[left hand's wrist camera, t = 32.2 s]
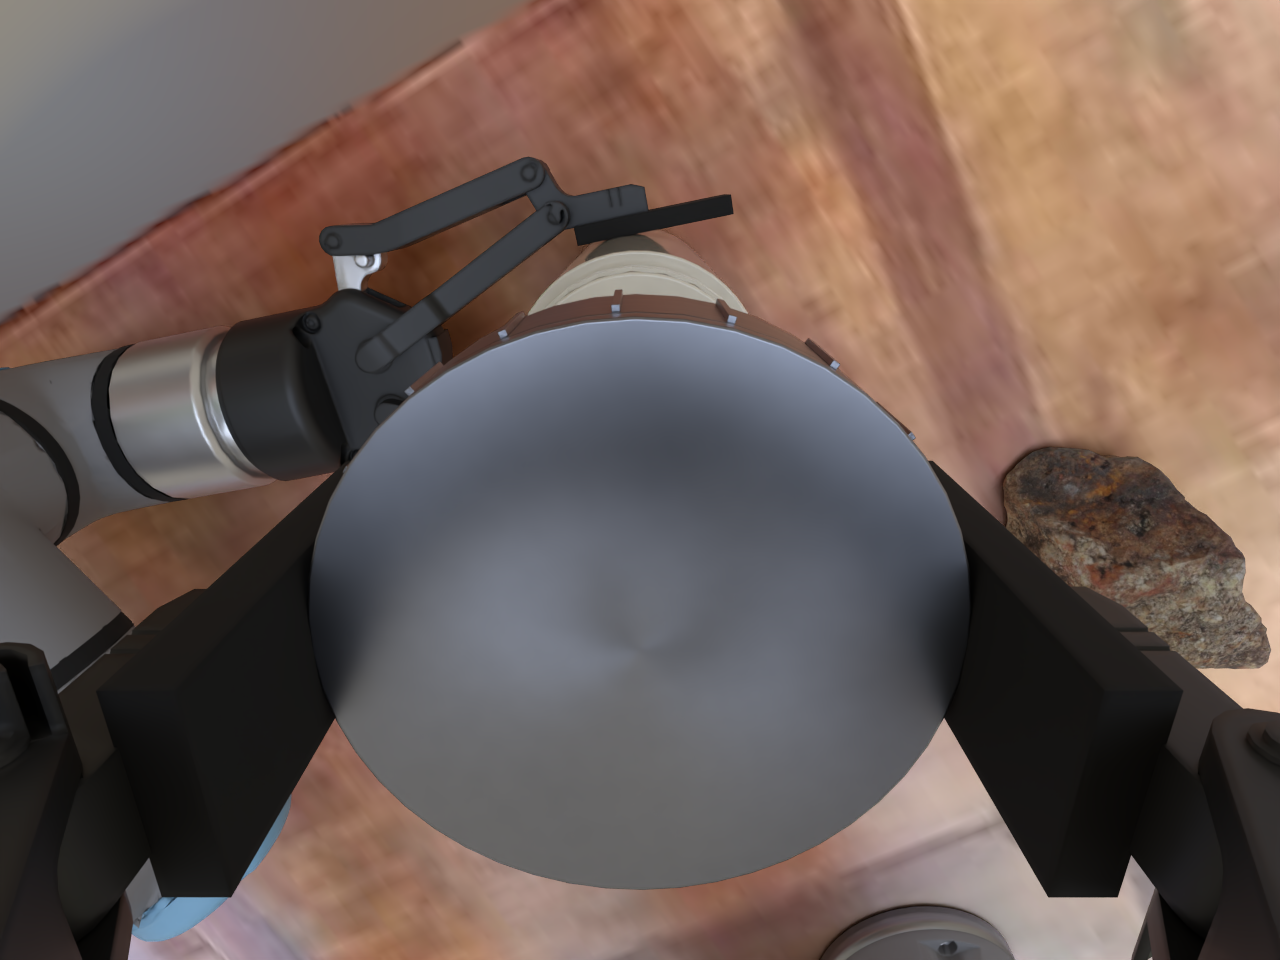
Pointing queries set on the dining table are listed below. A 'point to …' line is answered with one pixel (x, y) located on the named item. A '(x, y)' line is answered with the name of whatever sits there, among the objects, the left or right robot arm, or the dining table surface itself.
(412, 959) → the dining table surface
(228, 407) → the right robot arm
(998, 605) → the left robot arm
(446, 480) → the lid
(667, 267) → the jar
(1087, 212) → the dining table surface
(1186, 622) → the rock
